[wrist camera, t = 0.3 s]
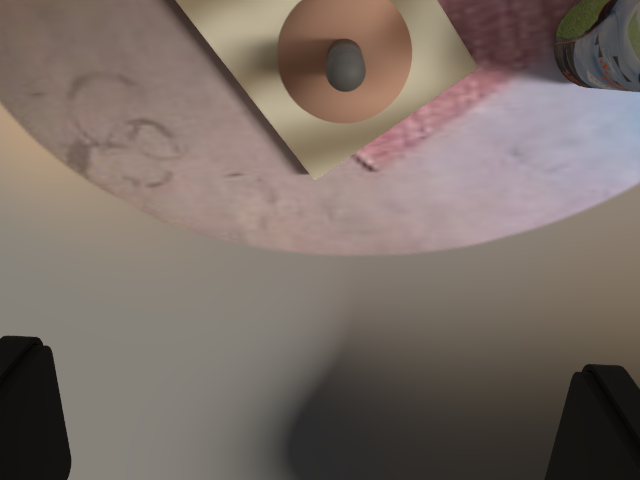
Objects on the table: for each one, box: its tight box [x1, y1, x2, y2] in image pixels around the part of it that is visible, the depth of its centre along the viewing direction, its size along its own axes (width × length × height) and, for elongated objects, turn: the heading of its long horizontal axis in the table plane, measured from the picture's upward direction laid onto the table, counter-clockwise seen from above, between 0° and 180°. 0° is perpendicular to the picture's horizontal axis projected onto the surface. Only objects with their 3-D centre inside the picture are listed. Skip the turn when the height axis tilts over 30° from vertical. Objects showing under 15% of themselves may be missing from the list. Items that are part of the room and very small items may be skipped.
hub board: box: [175, 0, 478, 180], centre depth 38 cm, size 16×14×9 cm
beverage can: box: [554, 0, 640, 92], centre depth 36 cm, size 6×7×12 cm
